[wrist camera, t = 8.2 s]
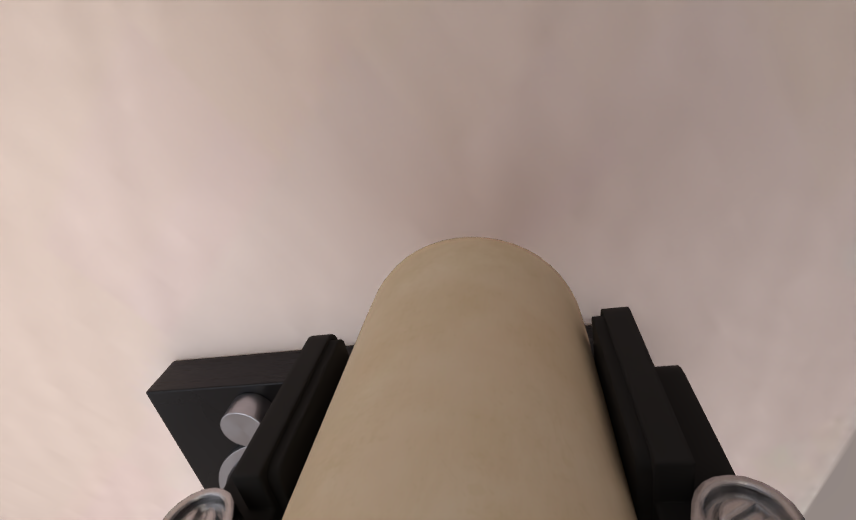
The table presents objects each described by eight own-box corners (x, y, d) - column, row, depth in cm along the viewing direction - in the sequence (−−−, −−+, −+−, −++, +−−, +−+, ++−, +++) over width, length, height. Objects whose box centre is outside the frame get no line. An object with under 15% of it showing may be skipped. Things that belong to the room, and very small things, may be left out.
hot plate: (173, 360, 24) (126, 412, 21) (622, 321, 19) (645, 379, 16) (259, 516, 29) (232, 575, 26) (627, 512, 25) (645, 582, 22)
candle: (360, 234, 12) (-15, 864, 3) (590, 231, 11) (926, 1061, 2) (384, 400, 15) (212, 1007, 6) (573, 408, 14) (708, 1123, 5)
